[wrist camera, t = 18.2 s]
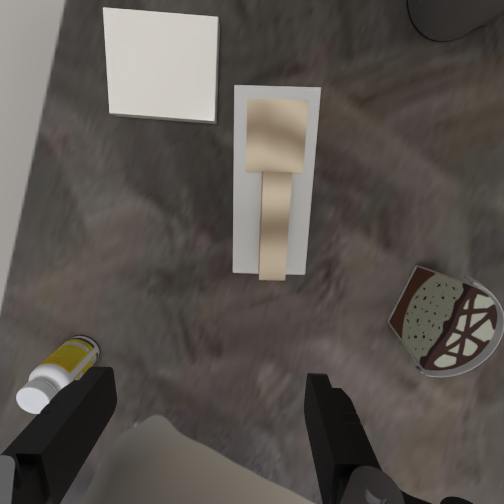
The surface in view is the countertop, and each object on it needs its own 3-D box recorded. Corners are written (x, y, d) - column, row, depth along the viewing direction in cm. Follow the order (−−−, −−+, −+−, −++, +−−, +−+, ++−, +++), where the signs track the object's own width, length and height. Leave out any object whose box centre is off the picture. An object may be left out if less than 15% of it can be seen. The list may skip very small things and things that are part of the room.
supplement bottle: (60, 337, 40) (1, 386, 31) (93, 331, 40) (44, 378, 31) (73, 367, 42) (21, 421, 33) (105, 361, 42) (62, 415, 32)
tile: (216, 124, 33) (220, 28, 30) (214, 121, 30) (217, 16, 28) (118, 117, 32) (113, 19, 30) (109, 112, 30) (103, 7, 28)
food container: (419, 341, 40) (472, 393, 30) (382, 330, 40) (423, 379, 30) (461, 267, 37) (534, 299, 27) (421, 254, 36) (480, 282, 27)
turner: (294, 264, 37) (302, 281, 31) (243, 263, 37) (241, 279, 31) (307, 102, 31) (319, 85, 25) (247, 100, 31) (246, 82, 25)
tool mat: (320, 88, 31) (321, 87, 31) (304, 273, 37) (304, 274, 37) (234, 86, 31) (234, 85, 31) (233, 271, 37) (232, 272, 37)
